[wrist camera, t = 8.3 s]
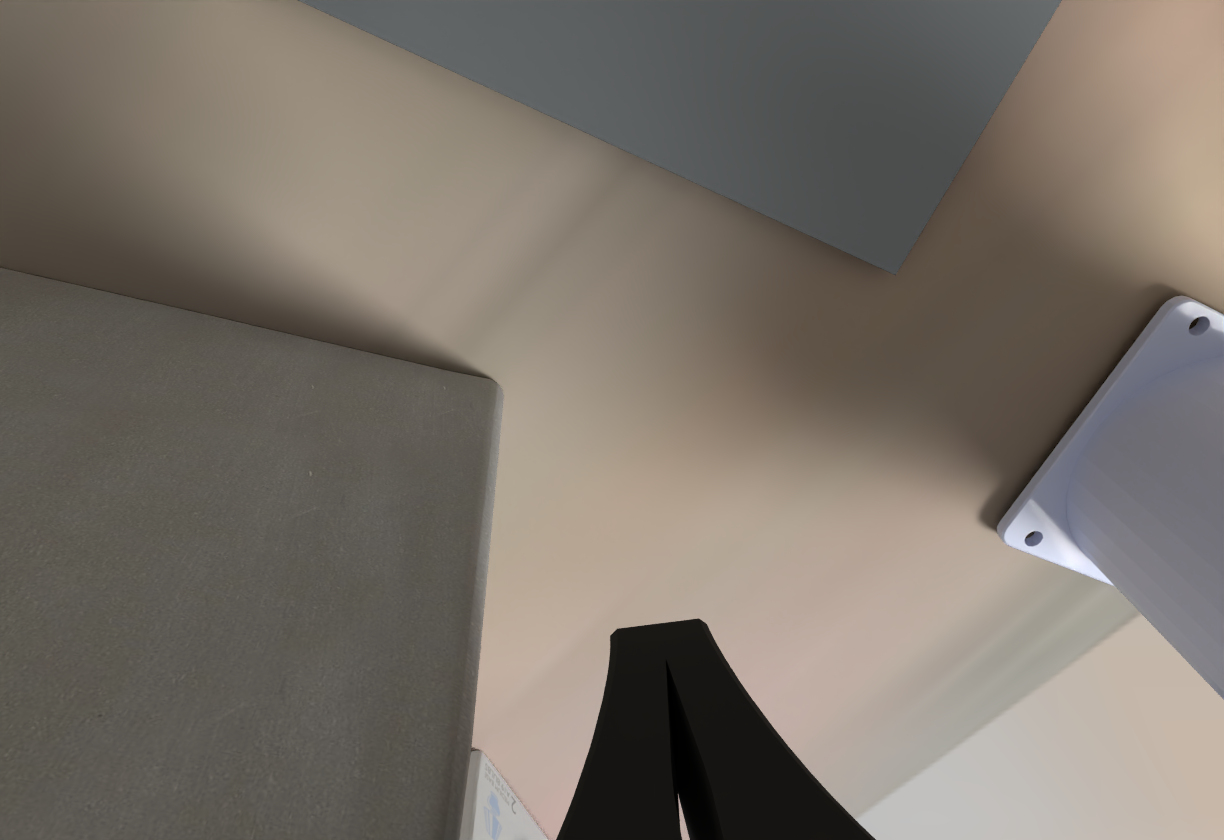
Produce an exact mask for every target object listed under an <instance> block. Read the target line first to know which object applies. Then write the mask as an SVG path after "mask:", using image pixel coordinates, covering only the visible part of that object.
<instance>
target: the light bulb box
mask: <svg viewBox="0 0 1224 840" xmlns="http://www.w3.org/2000/svg"><path fill="white" fill-rule="evenodd" d="M459 840H548V839H547V837H546V836H545V834H544V833H543V832H542V830H541V829H540V827H539V826H538V825H537V823H536V822H535V821H534V819H533V818H532V817H531V815H530V814H529V813H528V811H527V810H526V809H525V807H524V806H523V805H522V803H521V802H520V801H519V799H518V798H517V797H516V795H515V794H514V793H513V791H512V790H511V788H510V787H509V786H508V784H507V783H506V782H505V780H504V779H503V778H502V776H501V775H500V774H499V772H498V771H497V770H496V768H495V767H494V766H493V764H492V763H491V762H490V760H489V759H488V758H487V756H486V755H485V754H484V753H483V752H482V751H479V750H476V751H472V752H471V755H470V763H469V770H468V778H467V785H466V793H465V801H464V808H463V816H462V823H461V831H460V838H459Z"/></svg>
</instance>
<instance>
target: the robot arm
mask: <svg viewBox="0 0 1224 840" xmlns="http://www.w3.org/2000/svg"><path fill="white" fill-rule="evenodd" d="M1198 317H1199V320H1198V322H1197V324H1196V325H1195V326H1194V327H1193V328H1192V329H1189V326H1190V324H1191V322H1192V321H1193V320H1194V319H1196V318H1198ZM1034 531H1035V533H1034V534H1033V535H1032V536H1031V537H1029V538H1026V536H1027V535H1028V534H1029V533H1031V532H1034ZM997 533H998V536H999V537H1000V539H1001V540H1002V541H1003V542H1004V543H1005V544H1006V545H1008V546H1010V547H1013V548H1015V549H1018V550H1021V551H1023V552H1026V553H1028V554H1031V555H1034V556H1036V557H1039V558H1041V559H1044V560H1047V561H1049V562H1052V563H1055V564H1057V565H1060V566H1062V567H1065V568H1068V569H1070V570H1073V571H1076V572H1078V573H1081V574H1083V575H1086V576H1089V577H1091V578H1094V579H1097V580H1099V581H1102V582H1104V583H1107V584H1110V585H1112V586H1115V587H1116V588H1117V589H1118V590H1119V591H1120V592H1121V593H1122V594H1123V595H1124V596H1125V597H1126V598H1127V599H1128V600H1129V601H1130V602H1131V603H1132V604H1133V605H1134V606H1135V607H1136V609H1137V610H1138V611H1139V612H1140V613H1141V614H1142V615H1143V616H1144V617H1145V618H1146V619H1147V620H1148V621H1149V622H1150V623H1151V624H1152V625H1153V626H1154V627H1155V628H1156V629H1157V630H1158V632H1159V633H1161V635H1162V636H1163V637H1164V638H1165V639H1166V640H1167V641H1168V642H1169V643H1170V644H1171V645H1172V646H1173V647H1174V648H1175V649H1176V650H1177V651H1178V652H1179V653H1180V654H1181V656H1182V657H1183V658H1184V659H1185V660H1186V661H1187V662H1188V663H1189V664H1190V665H1191V666H1192V667H1193V668H1194V669H1195V670H1196V671H1197V672H1198V673H1199V674H1200V675H1201V676H1202V677H1203V678H1204V680H1206V682H1207V683H1208V684H1209V685H1210V686H1211V687H1212V688H1213V689H1214V690H1215V691H1216V692H1217V693H1218V694H1219V695H1220V696H1221V697H1222V698H1223V699H1224V314H1222V313H1220V312H1218V311H1216V310H1214V309H1212V308H1210V307H1208V306H1206V305H1204V304H1202V303H1200V302H1198V301H1196V300H1194V299H1192V298H1190V297H1186V296H1177V297H1173V298H1171V299H1170V300H1168V301H1166V302H1165V303H1164V304H1163V305H1162V306H1161V307H1160V309H1159V310H1158V311H1157V313H1156V314H1155V315H1154V317H1153V318H1152V319H1151V321H1150V322H1149V323H1148V325H1147V326H1146V327H1145V329H1144V330H1143V331H1142V333H1141V334H1140V335H1139V337H1138V338H1137V339H1136V341H1135V342H1134V343H1133V345H1132V346H1131V347H1130V349H1129V350H1128V351H1127V353H1126V354H1125V355H1124V357H1123V358H1122V359H1121V361H1120V362H1119V363H1118V365H1117V366H1116V367H1115V369H1114V370H1113V371H1112V373H1111V374H1110V375H1109V377H1108V378H1107V379H1106V381H1105V382H1104V383H1103V385H1102V386H1101V387H1100V389H1099V390H1098V391H1097V393H1096V394H1095V395H1094V397H1093V398H1092V399H1091V401H1090V402H1089V403H1088V405H1087V406H1086V407H1085V409H1084V410H1083V411H1082V413H1081V414H1080V415H1079V417H1078V418H1077V419H1076V421H1075V422H1074V423H1073V425H1072V426H1071V427H1070V429H1069V430H1068V431H1067V433H1066V434H1065V435H1064V437H1063V438H1062V439H1061V441H1060V442H1059V443H1058V445H1057V446H1056V447H1055V449H1054V450H1053V451H1052V453H1051V454H1050V455H1049V457H1048V458H1047V459H1046V461H1045V462H1044V463H1043V465H1042V466H1041V467H1040V469H1039V470H1038V471H1037V473H1036V474H1035V475H1034V477H1033V478H1032V479H1031V481H1030V482H1029V483H1028V485H1027V486H1026V487H1025V489H1024V490H1023V491H1022V493H1021V494H1020V495H1019V497H1018V498H1017V499H1016V501H1015V502H1014V503H1013V505H1012V506H1011V507H1010V509H1009V510H1008V511H1007V513H1006V514H1005V515H1004V517H1003V518H1002V519H1001V521H1000V522H999V524H998V526H997ZM1025 538H1026V539H1025ZM678 795H679V799H680V803H681V807H682V810H683V814H684V818H685V822H686V826H687V830H688V834H689V838H690V840H876V839H875V838H873V837H872V836H871V835H870V834H869V833H868V832H867V831H866V830H865V829H864V828H863V827H862V826H861V825H860V824H859V823H858V822H857V821H856V820H855V819H854V818H853V817H852V816H851V815H850V814H849V813H848V812H847V811H846V810H845V809H844V808H843V807H842V806H841V805H840V804H839V803H838V802H837V801H836V800H835V799H834V798H833V797H832V796H831V795H830V793H829V792H828V791H827V790H826V789H825V788H824V787H823V786H822V785H821V784H820V783H819V781H818V780H817V779H816V778H815V777H814V776H813V775H812V774H811V773H810V771H809V770H808V769H807V768H806V767H805V766H804V764H803V763H802V762H801V761H800V760H799V758H798V757H797V756H796V755H795V754H794V753H793V751H792V750H791V749H790V748H789V747H788V745H787V744H786V743H785V742H784V740H783V739H782V738H781V737H780V735H779V734H778V733H777V732H776V730H775V729H774V728H773V727H772V725H771V724H770V723H769V721H768V720H767V718H766V717H765V716H764V714H763V713H762V712H761V710H760V709H759V708H758V706H757V705H756V704H755V702H754V701H753V700H752V698H751V697H750V696H749V694H748V693H747V691H746V690H745V688H744V687H743V685H742V684H741V683H740V681H739V679H738V678H737V676H736V675H735V673H734V672H733V670H732V669H731V667H730V666H729V664H728V662H727V661H726V659H725V657H724V656H723V654H722V652H721V651H720V649H719V647H718V646H717V644H716V642H715V640H714V638H713V636H712V634H711V632H710V630H709V628H708V626H707V624H706V623H704V622H703V621H702V620H700V619H692V620H684V621H676V622H668V623H660V624H652V625H644V626H636V627H628V628H620V629H617V630H616V631H615V632H614V633H613V634H612V635H611V636H610V660H609V668H608V675H607V681H606V686H605V691H604V696H603V701H602V705H601V708H600V712H599V716H598V720H597V724H596V728H595V732H594V735H593V739H592V743H591V746H590V749H589V753H588V755H587V758H586V761H585V764H584V767H583V770H582V773H581V776H580V779H579V782H578V785H577V788H576V791H575V794H574V797H573V799H572V802H571V805H570V807H569V810H568V812H567V815H566V817H565V820H564V822H563V825H562V827H561V830H560V832H559V834H558V837H557V839H556V840H682V837H681V832H680V819H679V804H678Z"/></svg>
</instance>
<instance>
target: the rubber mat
mask: <svg viewBox="0 0 1224 840" xmlns="http://www.w3.org/2000/svg"><path fill="white" fill-rule="evenodd" d="M299 1H301V2H303V3H305V4H307V5H310V6H312V7H314V8H316V9H318V10H320V11H323V12H325V13H327V14H329V15H331V16H333V17H336V18H338V19H340V20H342V21H344V22H346V23H349V24H351V25H353V26H355V27H357V28H359V29H362V30H364V31H366V32H368V33H370V34H373V35H375V36H377V37H379V38H381V39H383V40H386V41H388V42H390V43H392V44H394V45H396V46H399V47H401V48H403V49H405V50H407V51H409V52H412V53H414V54H416V55H418V56H420V57H422V58H425V59H427V60H429V61H431V62H433V63H435V64H438V65H440V66H442V67H444V68H446V69H449V70H451V71H453V72H455V73H457V74H459V75H462V76H464V77H466V78H468V79H470V80H472V81H475V82H477V83H479V84H481V85H483V86H485V87H488V88H490V89H492V90H494V91H496V92H498V93H501V94H503V95H505V96H507V97H509V98H512V99H514V100H516V101H518V102H520V103H522V104H525V105H527V106H529V107H531V108H533V109H535V110H538V111H540V112H542V113H544V114H546V115H548V116H551V117H553V118H555V119H557V120H559V121H561V122H564V123H566V124H568V125H570V126H572V127H574V128H577V129H579V130H581V131H583V132H585V133H588V134H590V135H592V136H594V137H596V138H598V139H601V140H603V141H605V142H607V143H609V144H611V145H614V146H616V147H618V148H620V149H622V150H624V151H627V152H629V153H631V154H633V155H635V156H637V157H640V158H642V159H644V160H646V161H648V162H650V163H653V164H655V165H657V166H659V167H661V168H664V169H666V170H668V171H670V172H672V173H674V174H677V175H679V176H681V177H683V178H685V179H687V180H690V181H692V182H694V183H696V184H698V185H700V186H703V187H705V188H707V189H709V190H711V191H713V192H716V193H718V194H720V195H722V196H724V197H726V198H729V199H731V200H733V201H735V202H737V203H740V204H742V205H744V206H746V207H748V208H750V209H753V210H755V211H757V212H759V213H761V214H763V215H766V216H768V217H770V218H772V219H774V220H776V221H779V222H781V223H783V224H785V225H787V226H789V227H792V228H794V229H796V230H798V231H800V232H803V233H805V234H807V235H809V236H811V237H813V238H816V239H818V240H820V241H822V242H824V243H826V244H829V245H831V246H833V247H835V248H837V249H839V250H842V251H844V252H846V253H848V254H850V255H852V256H855V257H857V258H859V259H861V260H863V261H865V262H868V263H870V264H872V265H874V266H876V267H879V268H881V269H883V270H885V271H887V272H889V273H892V274H894V275H896V273H897V272H898V270H899V268H900V267H901V265H902V264H903V262H904V260H905V259H906V257H907V255H908V254H909V252H910V250H911V249H912V247H913V245H914V244H915V242H916V240H917V239H918V237H919V235H920V234H921V232H922V230H923V229H924V227H925V226H926V224H927V222H928V221H929V219H930V217H931V216H932V214H933V212H934V211H935V209H936V207H937V206H938V204H939V202H940V201H941V199H942V197H943V196H944V194H945V192H946V191H947V189H948V188H949V186H950V184H951V183H952V181H953V179H954V178H955V176H956V174H957V173H958V171H959V169H960V168H961V166H962V164H963V163H964V161H965V159H966V158H967V156H968V154H969V153H970V151H971V150H972V148H973V146H974V145H975V143H976V141H977V140H978V138H979V136H980V135H981V133H982V131H983V130H984V128H985V126H986V125H987V123H988V121H989V120H990V118H991V116H992V115H993V113H994V112H995V110H996V108H997V107H998V105H999V103H1000V102H1001V100H1002V98H1003V97H1004V95H1005V93H1006V92H1007V90H1008V88H1009V87H1010V85H1011V83H1012V82H1013V80H1014V78H1015V77H1016V75H1017V74H1018V72H1019V70H1020V69H1021V67H1022V65H1023V64H1024V62H1025V60H1026V59H1027V57H1028V55H1029V54H1030V52H1031V50H1032V49H1033V47H1034V45H1035V44H1036V42H1037V40H1038V39H1039V37H1040V36H1041V34H1042V32H1043V31H1044V29H1045V27H1046V26H1047V24H1048V22H1049V21H1050V19H1051V17H1052V16H1053V14H1054V12H1055V11H1056V9H1057V7H1058V6H1059V4H1060V2H1061V1H1062V0H299Z"/></svg>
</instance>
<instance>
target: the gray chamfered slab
mask: <svg viewBox="0 0 1224 840" xmlns="http://www.w3.org/2000/svg"><path fill="white" fill-rule="evenodd" d="M503 399H504V394H503V390H502V388H501V387H500V386H499V385H498V384H497V383H496V382H495V381H493V380H491V379H487V378H482V377H477V376H472V375H467V374H462V373H457V372H452V371H447V370H443V369H439V368H434V367H430V366H426V365H421V364H417V363H413V362H408V361H404V360H400V359H395V358H391V357H387V356H382V355H378V354H374V353H369V352H365V351H361V350H356V349H352V348H348V347H344V346H339V345H335V344H331V343H326V342H322V341H318V340H313V339H309V338H305V337H300V336H296V335H292V334H288V333H283V332H279V331H275V330H270V329H266V328H262V327H257V326H253V325H249V324H245V323H240V322H236V321H232V320H228V319H223V318H219V317H215V316H210V315H206V314H202V313H197V312H193V311H189V310H184V309H180V308H176V307H171V306H167V305H163V304H158V303H154V302H149V301H145V300H141V299H136V298H132V297H128V296H123V295H119V294H115V293H110V292H106V291H101V290H97V289H92V288H88V287H84V286H79V285H75V284H70V283H66V282H61V281H57V280H53V279H48V278H44V277H40V276H35V275H31V274H26V273H22V272H18V271H13V270H9V269H4V268H0V840H459V838H460V831H461V823H462V816H463V808H464V801H465V793H466V785H467V778H468V770H469V763H470V755H471V745H472V735H473V724H474V713H475V702H476V691H477V681H478V670H479V659H480V648H481V637H482V627H483V616H484V605H485V594H486V583H487V572H488V562H489V551H490V540H491V529H492V518H493V508H494V497H495V486H496V475H497V464H498V454H499V443H500V432H501V421H502V410H503Z"/></svg>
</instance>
